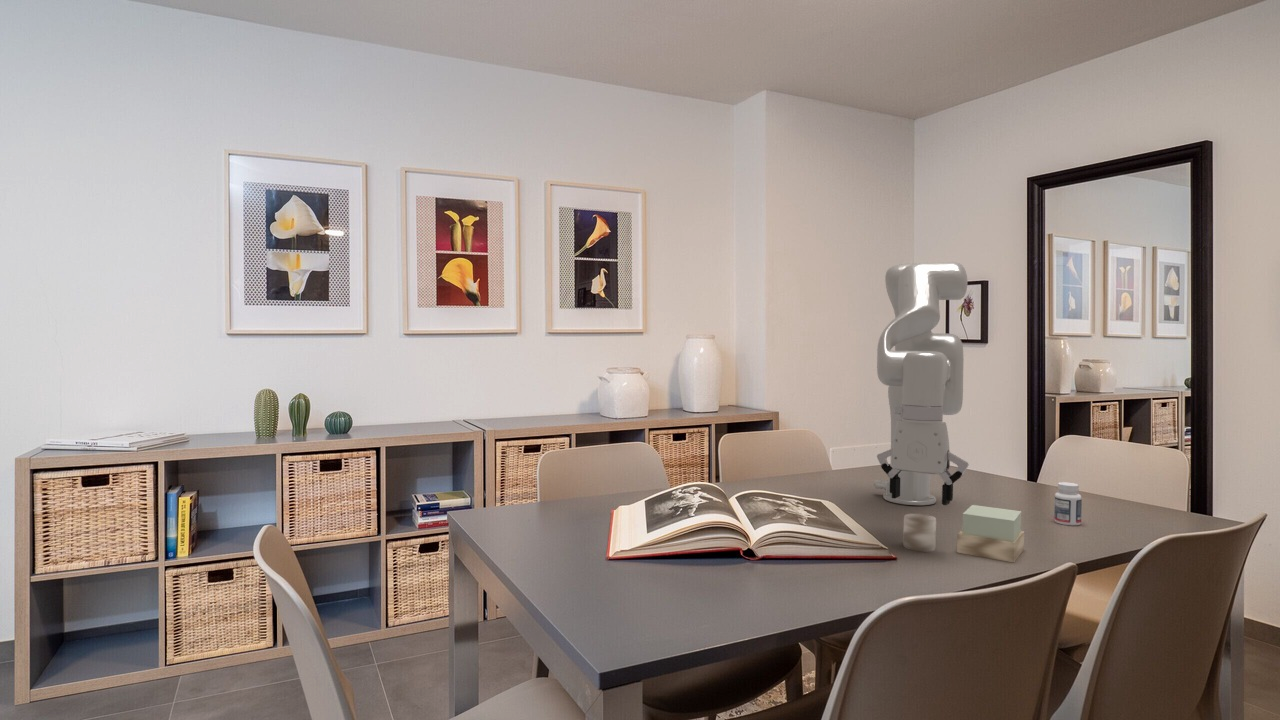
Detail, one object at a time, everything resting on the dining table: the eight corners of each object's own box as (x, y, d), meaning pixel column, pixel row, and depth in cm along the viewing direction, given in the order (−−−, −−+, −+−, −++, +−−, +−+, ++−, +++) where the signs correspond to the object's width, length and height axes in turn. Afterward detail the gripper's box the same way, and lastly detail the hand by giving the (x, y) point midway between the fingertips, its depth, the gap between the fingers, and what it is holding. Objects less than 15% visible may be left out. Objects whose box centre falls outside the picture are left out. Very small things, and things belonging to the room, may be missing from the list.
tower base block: (957, 554, 142) (957, 533, 142) (969, 542, 150) (970, 523, 150) (1013, 564, 136) (1014, 543, 136) (1023, 551, 144) (1024, 531, 144)
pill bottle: (1074, 520, 167) (1075, 481, 167) (1085, 526, 162) (1086, 486, 162) (1049, 519, 168) (1050, 481, 168) (1060, 525, 163) (1061, 486, 162)
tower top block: (962, 534, 142) (962, 513, 142) (971, 524, 149) (972, 504, 149) (1013, 541, 137) (1014, 520, 137) (1020, 531, 144) (1021, 511, 144)
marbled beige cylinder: (899, 547, 145) (899, 518, 145) (908, 541, 150) (909, 512, 150) (930, 553, 142) (931, 522, 141) (939, 546, 146) (939, 516, 146)
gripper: (872, 412, 147) (870, 497, 147) (964, 418, 136) (962, 510, 137) (884, 410, 153) (883, 492, 153) (973, 416, 142) (971, 503, 143)
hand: (920, 500), depth 145 cm, fingers open, 9 cm apart
